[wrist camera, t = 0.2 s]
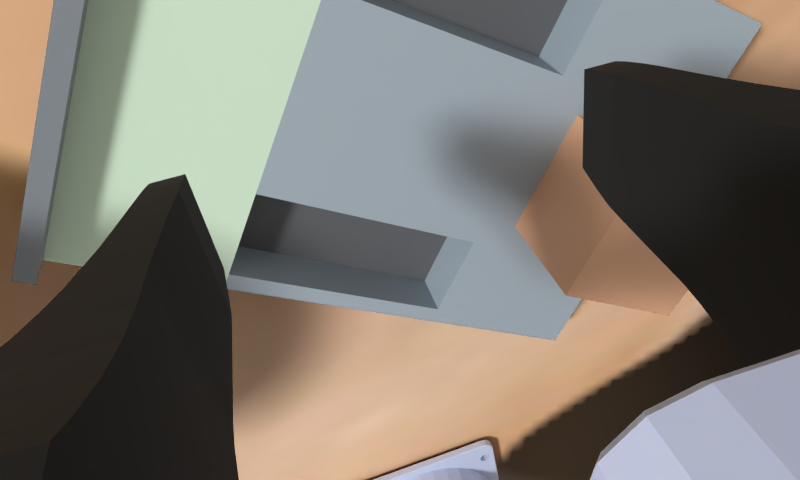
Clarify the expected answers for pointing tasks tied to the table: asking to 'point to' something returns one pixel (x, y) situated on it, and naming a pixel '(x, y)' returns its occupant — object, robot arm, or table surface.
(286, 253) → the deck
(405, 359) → the table surface
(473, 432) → the table surface
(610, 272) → the block
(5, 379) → the robot arm
